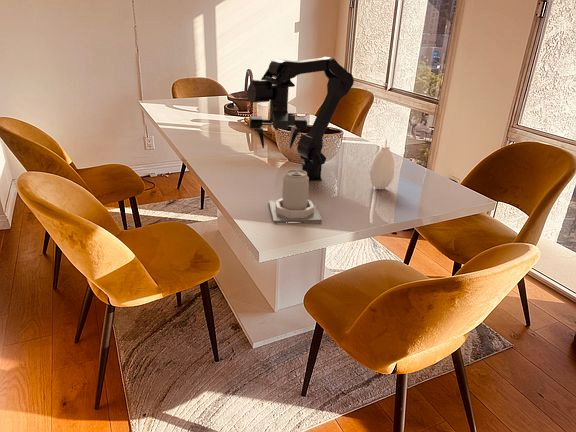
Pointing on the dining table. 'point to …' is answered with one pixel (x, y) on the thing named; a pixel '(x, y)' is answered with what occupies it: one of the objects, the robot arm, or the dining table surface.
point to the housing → (294, 213)
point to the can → (295, 190)
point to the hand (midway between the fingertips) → (276, 148)
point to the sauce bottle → (382, 168)
